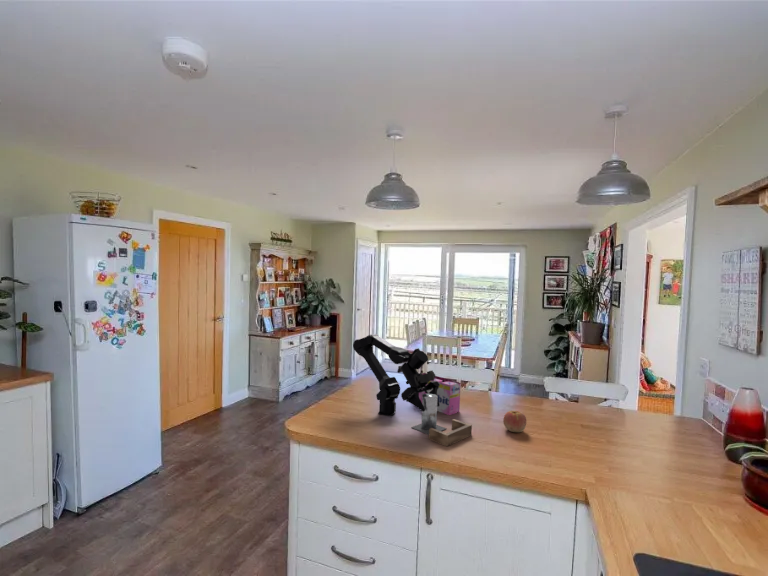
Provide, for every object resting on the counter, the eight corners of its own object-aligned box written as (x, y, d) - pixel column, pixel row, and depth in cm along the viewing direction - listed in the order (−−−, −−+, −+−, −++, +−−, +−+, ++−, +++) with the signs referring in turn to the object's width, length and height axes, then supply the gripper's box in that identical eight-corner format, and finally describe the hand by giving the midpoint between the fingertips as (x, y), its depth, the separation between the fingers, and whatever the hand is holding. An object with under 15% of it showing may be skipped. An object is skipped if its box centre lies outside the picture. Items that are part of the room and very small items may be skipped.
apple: (527, 436, 157) (528, 416, 157) (503, 433, 159) (504, 413, 159) (524, 428, 166) (525, 409, 165) (501, 425, 167) (502, 407, 167)
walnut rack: (428, 439, 151) (429, 428, 151) (453, 428, 162) (454, 419, 162) (446, 446, 145) (447, 435, 145) (471, 435, 156) (471, 425, 156)
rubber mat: (411, 428, 161) (411, 427, 161) (427, 422, 168) (427, 421, 168) (430, 435, 154) (430, 434, 154) (446, 429, 161) (446, 428, 161)
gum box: (410, 401, 196) (412, 374, 196) (422, 398, 201) (423, 372, 201) (449, 415, 178) (450, 385, 178) (460, 412, 183) (461, 382, 183)
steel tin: (420, 429, 159) (421, 397, 159) (422, 424, 165) (423, 392, 165) (435, 431, 158) (436, 398, 157) (437, 425, 164) (438, 394, 163)
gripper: (407, 367, 157) (428, 402, 150) (437, 361, 170) (457, 393, 163) (392, 383, 163) (411, 417, 156) (422, 376, 176) (441, 407, 169)
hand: (431, 408), depth 161 cm, fingers open, 9 cm apart
